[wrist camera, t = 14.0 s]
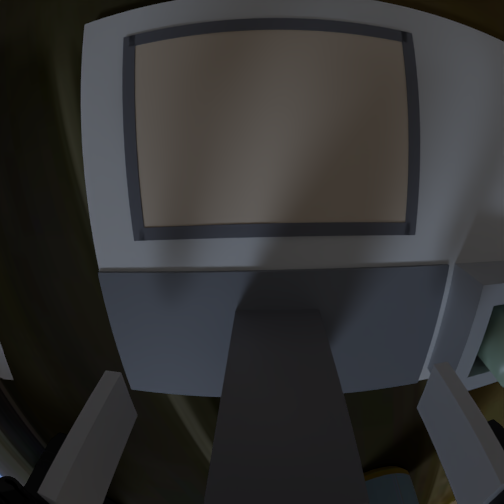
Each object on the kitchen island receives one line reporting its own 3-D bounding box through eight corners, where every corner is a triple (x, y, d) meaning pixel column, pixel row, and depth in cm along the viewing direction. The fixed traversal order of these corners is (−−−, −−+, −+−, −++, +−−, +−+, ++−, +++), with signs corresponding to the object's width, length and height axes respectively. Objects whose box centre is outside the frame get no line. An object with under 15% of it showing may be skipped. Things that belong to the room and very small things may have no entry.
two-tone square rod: (239, 373, 16) (216, 590, 5) (235, 310, 15) (192, 576, 3) (313, 371, 16) (344, 586, 5) (318, 308, 15) (381, 566, 3)
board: (136, 379, 18) (117, 418, 15) (92, 28, 11) (54, 8, 8) (496, 354, 17) (519, 382, 13) (531, 61, 10) (567, 56, 6)
